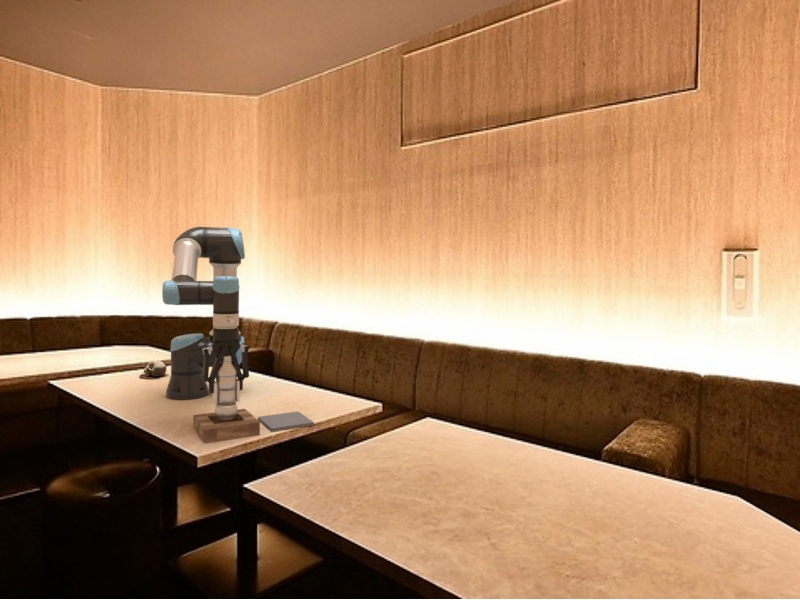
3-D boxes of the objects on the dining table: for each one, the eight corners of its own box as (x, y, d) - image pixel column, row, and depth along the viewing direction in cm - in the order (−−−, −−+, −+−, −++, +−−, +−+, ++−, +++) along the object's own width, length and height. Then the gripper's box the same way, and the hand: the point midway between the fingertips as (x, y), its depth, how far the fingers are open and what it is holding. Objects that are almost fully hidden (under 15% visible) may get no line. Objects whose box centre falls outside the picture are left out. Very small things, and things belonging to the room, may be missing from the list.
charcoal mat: (257, 419, 175) (257, 416, 175) (298, 414, 183) (298, 411, 183) (271, 431, 164) (271, 428, 163) (313, 425, 171) (314, 422, 171)
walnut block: (193, 427, 166) (193, 415, 165) (244, 420, 174) (244, 408, 174) (204, 443, 152) (204, 429, 152) (259, 434, 161) (259, 421, 160)
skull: (131, 376, 230) (142, 356, 236) (144, 388, 238) (154, 368, 244) (154, 377, 227) (165, 357, 233) (167, 389, 235) (177, 369, 241)
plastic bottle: (230, 423, 159) (231, 357, 158) (210, 421, 161) (210, 355, 159) (241, 417, 166) (242, 353, 164) (221, 415, 167) (222, 352, 165)
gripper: (195, 330, 153) (195, 409, 154) (260, 327, 163) (260, 401, 165) (190, 327, 159) (190, 402, 161) (253, 324, 169) (253, 395, 171)
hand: (225, 401), depth 163 cm, fingers closed on plastic bottle, 6 cm apart
